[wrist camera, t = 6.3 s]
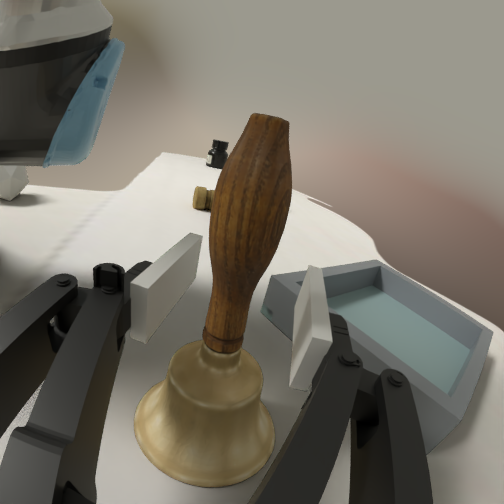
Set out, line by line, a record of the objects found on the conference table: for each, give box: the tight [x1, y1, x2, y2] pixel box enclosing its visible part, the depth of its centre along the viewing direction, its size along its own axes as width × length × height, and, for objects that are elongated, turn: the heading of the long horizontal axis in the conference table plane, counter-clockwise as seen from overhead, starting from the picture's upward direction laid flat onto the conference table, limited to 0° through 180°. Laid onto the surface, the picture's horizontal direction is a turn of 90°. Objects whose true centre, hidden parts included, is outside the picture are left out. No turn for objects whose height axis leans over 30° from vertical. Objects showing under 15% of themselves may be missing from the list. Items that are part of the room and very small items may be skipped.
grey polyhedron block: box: [0, 166, 29, 201], centre depth 37 cm, size 8×9×10 cm
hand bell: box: [134, 113, 292, 487], centre depth 11 cm, size 8×8×16 cm
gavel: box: [193, 186, 215, 210], centre depth 50 cm, size 21×5×10 cm
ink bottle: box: [206, 140, 228, 169], centre depth 122 cm, size 10×9×12 cm
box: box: [261, 260, 493, 455], centre depth 26 cm, size 20×20×4 cm
